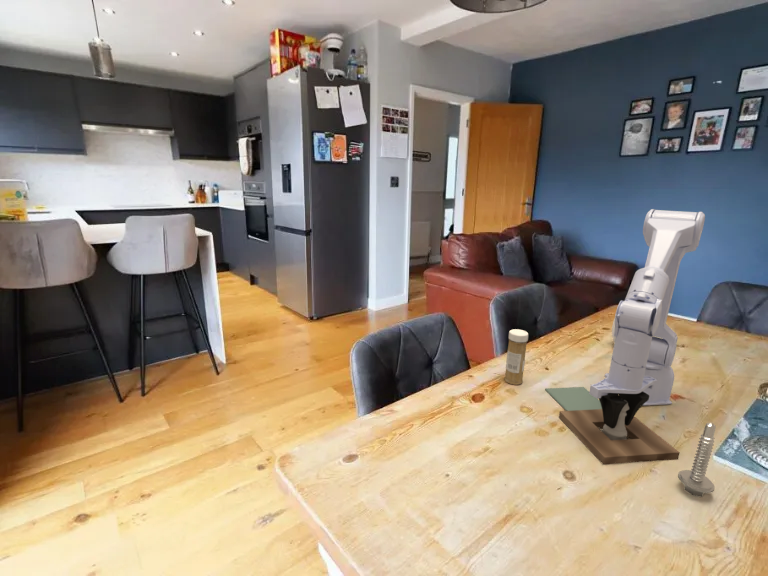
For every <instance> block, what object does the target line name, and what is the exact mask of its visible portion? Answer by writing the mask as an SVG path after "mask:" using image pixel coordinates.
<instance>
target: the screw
mask: <svg viewBox="0 0 768 576" xmlns="http://www.w3.org/2000/svg"><path fill="white" fill-rule="evenodd" d="M702 432H703V433H702V434H701V435H700V437H699V440H698V444H697V447H696V450H695V452H696V453H695V454H694V455H695V456H694V459H693V462H692V466H691V467H692V468H691V470H690V469H684V470H681V471H679V472H678V473H677V478H678V480H679V481H680V482H681V484H683V485H684V488H683V490H684V491H685V492H687V493H688V494H690V495H691V496H694V497H701V498H703V496H704V494H711V493H713V492H715V488H716V487H715V484H714V483H713V481H712V480H711V479H710V478H709V477H707V476H706V475H707V474H706V473H707V471H708V466H709V462H710V459H711V456H712V452H713V449H714V448H713V447H714V443H715V432H716V425H715V424H714V423H713V422H707V423H706V424H705V425H704V429H703V431H702Z"/></svg>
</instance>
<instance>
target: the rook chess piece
mask: <svg viewBox="0 0 768 576" xmlns="http://www.w3.org/2000/svg"><path fill="white" fill-rule="evenodd" d="M624 401H626V400H624ZM626 402H627V401H626ZM627 410H629V406H628V402H627V404H626V405H625V406H624V407H623V409H622V410H621V412H620V415H619V418H618V421H617V424H616V426H615V428H610V427H609V426H607V425H606V424H605V425H604V426H603V428H602V430H601V431H602V432H603V433H604V434H605V435H606V436H607V437H608V438H609V439H610V440H626V439H628V436H627V431H626V428H625V425H624V424H625V416H626V415H627V414H626V411H627Z"/></svg>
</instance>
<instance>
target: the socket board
mask: <svg viewBox="0 0 768 576" xmlns="http://www.w3.org/2000/svg"><path fill="white" fill-rule="evenodd" d="M558 418H559V419H560V420H561V421H562V422H563V424H565V425H566V426H567V428H568V429H569V430H570V431H571V432H572V433H573V434H574V435H575V436H576V437H577V438H578V440H580V441H581V442H582V443H583V445H584V446H585V447H586V448H587V449H588V450H589V451H590V453H592V454H593V455H594V457H596V459H598V461H599V462H600V463H601V464H602V465H615V464H618V465H619V464H629V463H630V464H631V463H644V462H647V463H648V462H658V461H677V460H679V457H680V451H678V450H677V449H676V447H673V445H671V444H670V443H668V441H666V440H665V439H663V438H662V437H661V436H660V435H658V434H657V433H656V432H655V431H653V430H652V429H651V428H649V427H648V426H647V425H645V423H643V422H642V421H641V420H640V419H638V418H637V417H635V416H634V418H633V419H632V421H631V423H630V424H629V425H627V426H626V425H625V424H624V425H625V428H626V431H627V436H626V437H627V439H626V440H610V439H609V438H608V437H607V436H606V435H605V434H604V433H603V432H602V430H601V429H603V426H604V425H605V424H604V420H603V412H602V409H593V410H573V411H566V410H560V411H559V413H558Z"/></svg>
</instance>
